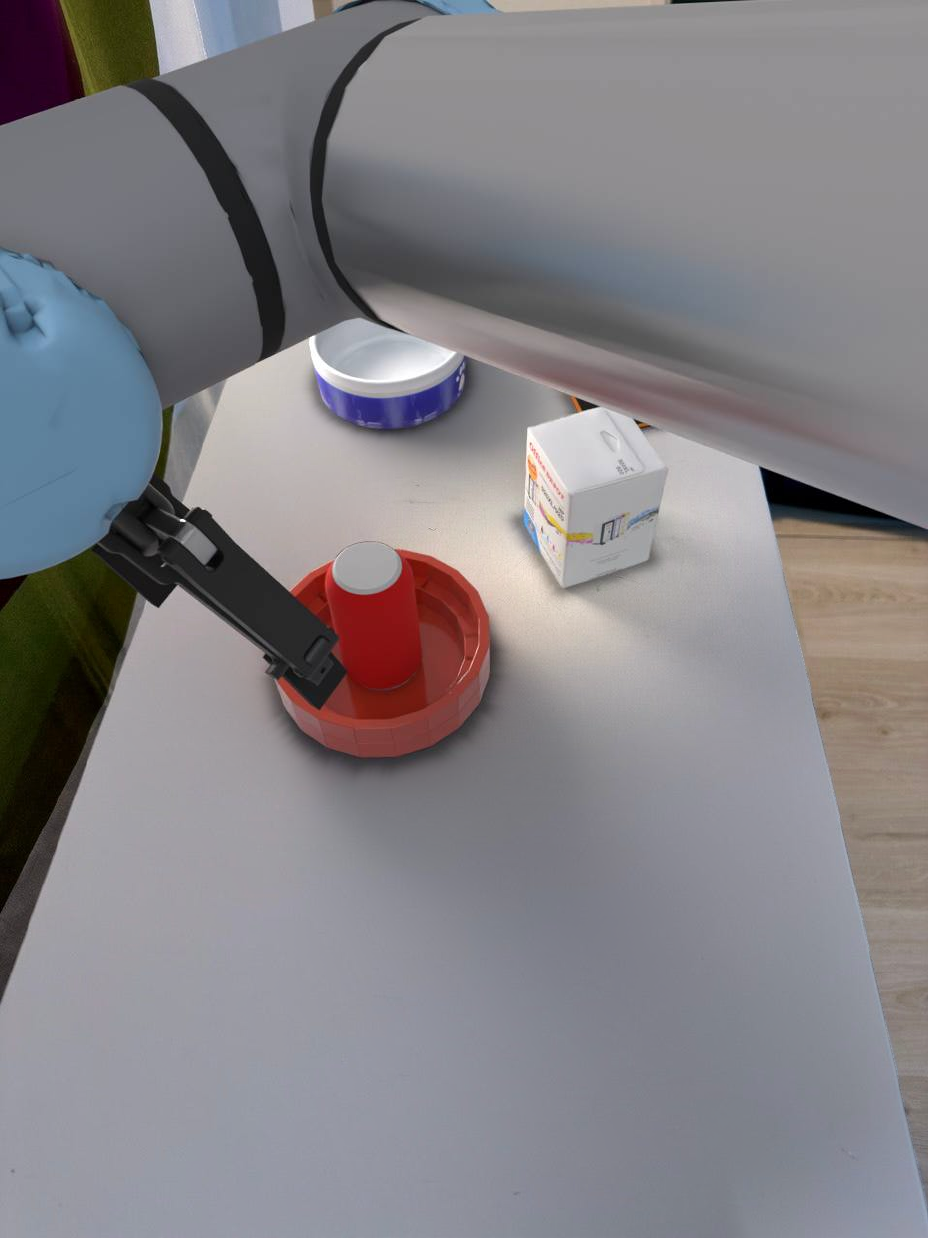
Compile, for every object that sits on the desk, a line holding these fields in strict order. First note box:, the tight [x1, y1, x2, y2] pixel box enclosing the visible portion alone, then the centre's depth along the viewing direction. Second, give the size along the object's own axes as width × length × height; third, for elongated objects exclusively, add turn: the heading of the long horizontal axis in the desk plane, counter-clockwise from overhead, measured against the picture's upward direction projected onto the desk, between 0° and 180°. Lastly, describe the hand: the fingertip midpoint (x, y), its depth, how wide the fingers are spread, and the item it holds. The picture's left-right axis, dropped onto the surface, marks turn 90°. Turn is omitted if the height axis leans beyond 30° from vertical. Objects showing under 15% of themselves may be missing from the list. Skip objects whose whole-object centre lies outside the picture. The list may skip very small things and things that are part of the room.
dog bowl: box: [309, 318, 467, 430], centre depth 90 cm, size 15×15×6 cm
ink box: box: [523, 407, 669, 589], centre depth 74 cm, size 9×8×12 cm
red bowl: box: [273, 548, 491, 758], centre depth 69 cm, size 17×17×5 cm
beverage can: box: [325, 540, 422, 690], centre depth 66 cm, size 6×6×12 cm
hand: (244, 636), depth 54 cm, fingers open, 13 cm apart
